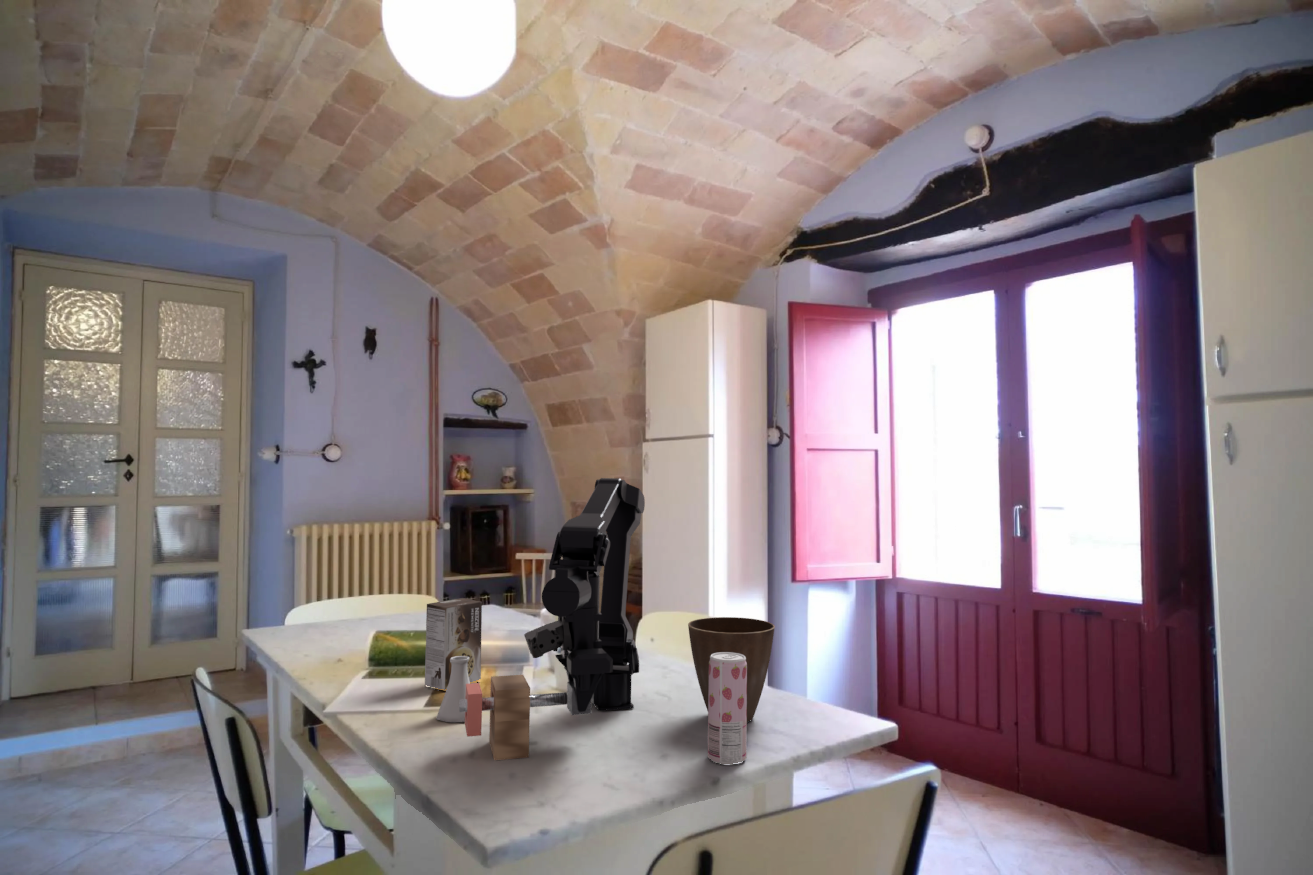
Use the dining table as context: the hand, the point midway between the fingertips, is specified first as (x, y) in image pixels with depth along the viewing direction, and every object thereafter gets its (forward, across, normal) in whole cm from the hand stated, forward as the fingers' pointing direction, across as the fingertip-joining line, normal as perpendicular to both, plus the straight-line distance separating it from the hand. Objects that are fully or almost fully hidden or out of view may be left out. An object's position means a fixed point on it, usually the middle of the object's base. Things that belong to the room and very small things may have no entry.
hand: (579, 707), depth 121 cm
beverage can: (+6, +12, +20) cm, 24 cm away
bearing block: (+6, 0, -11) cm, 12 cm away
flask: (+6, -18, -17) cm, 26 cm away
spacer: (+2, 0, -16) cm, 16 cm away
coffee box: (+6, -39, -17) cm, 43 cm away
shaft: (+1, 0, -8) cm, 8 cm away
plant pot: (+6, -6, +28) cm, 29 cm away
